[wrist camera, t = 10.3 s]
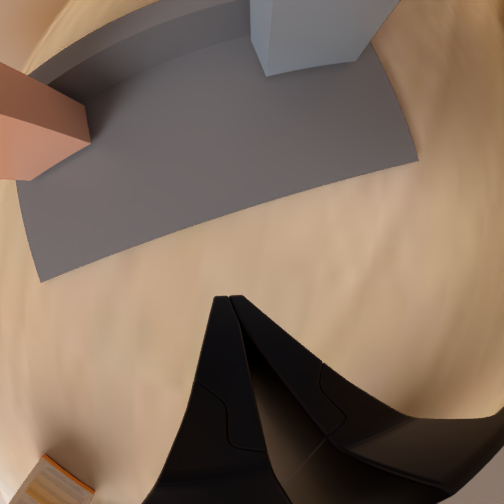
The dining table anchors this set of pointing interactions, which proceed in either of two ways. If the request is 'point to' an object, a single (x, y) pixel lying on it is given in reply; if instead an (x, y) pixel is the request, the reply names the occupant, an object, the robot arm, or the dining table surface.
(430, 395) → the dining table surface
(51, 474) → the supplement box
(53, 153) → the terracotta key
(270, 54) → the slate key
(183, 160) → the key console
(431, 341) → the dining table surface
